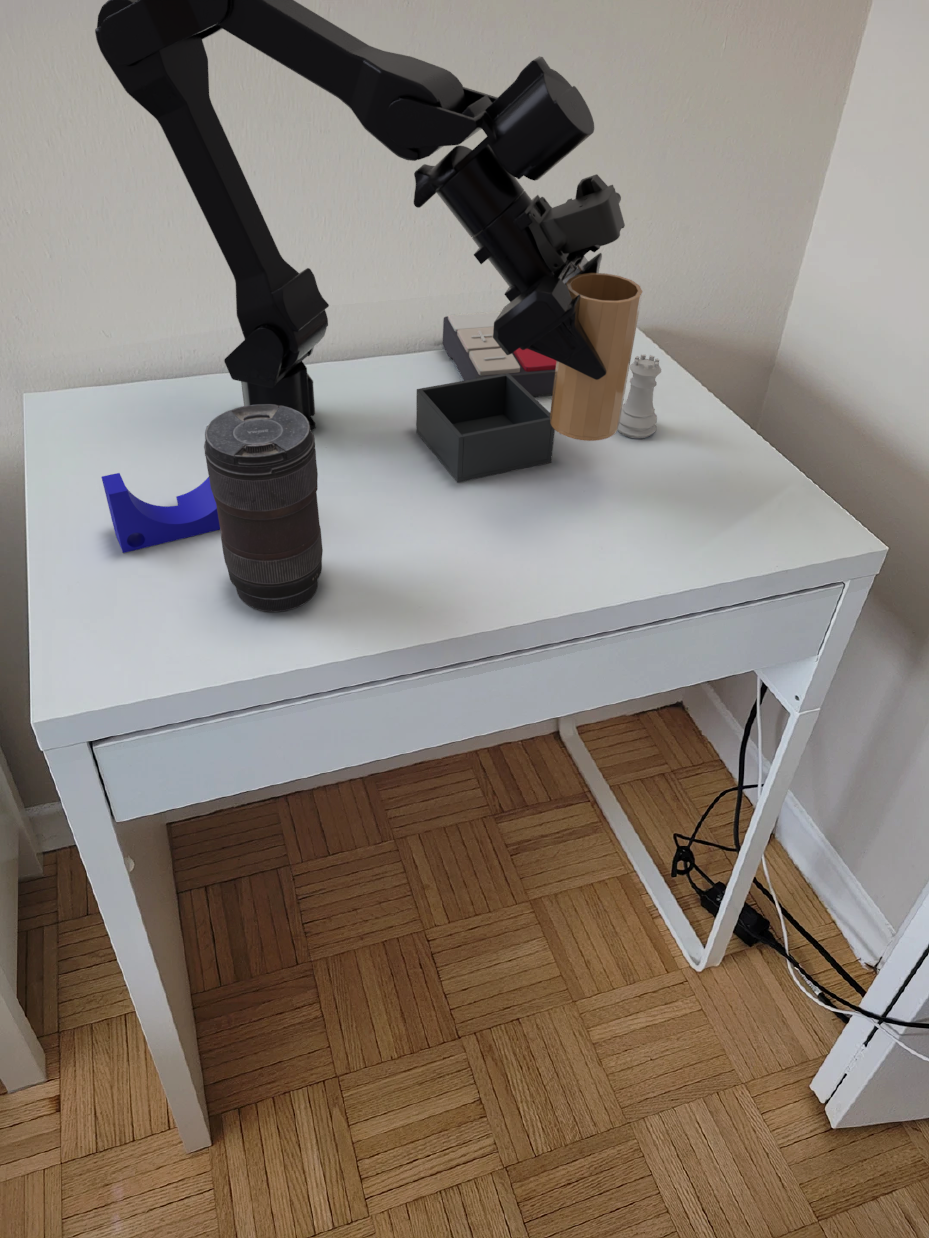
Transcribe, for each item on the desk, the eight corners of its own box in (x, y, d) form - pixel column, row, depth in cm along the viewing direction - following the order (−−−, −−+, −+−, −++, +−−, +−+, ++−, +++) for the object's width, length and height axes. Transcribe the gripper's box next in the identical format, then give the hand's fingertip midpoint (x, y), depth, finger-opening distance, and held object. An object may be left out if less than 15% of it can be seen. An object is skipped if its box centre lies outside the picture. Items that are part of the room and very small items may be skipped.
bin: (457, 483, 93) (458, 437, 89) (416, 432, 100) (416, 389, 97) (551, 462, 96) (556, 418, 93) (505, 415, 103) (508, 372, 100)
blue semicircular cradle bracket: (242, 495, 89) (234, 439, 86) (257, 520, 86) (250, 463, 83) (111, 525, 85) (97, 468, 81) (122, 553, 82) (108, 494, 78)
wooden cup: (572, 446, 86) (591, 306, 77) (537, 413, 90) (552, 278, 82) (631, 433, 88) (656, 296, 80) (595, 402, 92) (615, 269, 84)
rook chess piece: (631, 415, 104) (643, 346, 99) (664, 430, 102) (677, 361, 97) (605, 428, 102) (616, 358, 97) (638, 444, 100) (651, 374, 94)
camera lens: (221, 566, 81) (196, 408, 71) (315, 552, 83) (303, 396, 73) (233, 626, 75) (207, 462, 66) (334, 609, 77) (323, 448, 68)
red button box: (476, 372, 103) (442, 310, 113) (474, 407, 106) (441, 343, 116) (572, 364, 105) (530, 303, 116) (567, 398, 108) (526, 336, 119)
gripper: (547, 183, 68) (672, 354, 73) (594, 122, 81) (696, 270, 87) (438, 275, 74) (560, 426, 79) (499, 205, 88) (599, 338, 93)
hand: (608, 360), depth 84 cm, fingers closed on wooden cup, 6 cm apart
